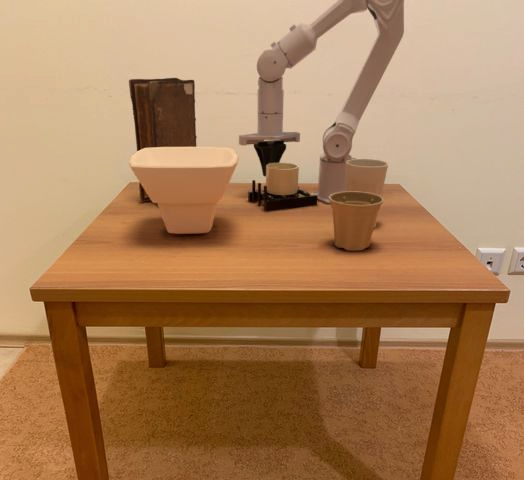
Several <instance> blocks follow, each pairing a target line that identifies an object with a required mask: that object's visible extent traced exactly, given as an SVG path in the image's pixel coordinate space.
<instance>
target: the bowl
mask: <svg viewBox="0 0 524 480" xmlns="http://www.w3.org/2000/svg"><path fill="white" fill-rule="evenodd" d="M238 163H239V155H238V153H237V152H236V151H235V150H234V149H233V148H231V147H224V146H196V147H152V148H143V149H141V150H139V151H137V150H136V152H135V153H133V154H132V155H131V156H130V158H129V161H128V165H129V167H130V169H131V171H132V172H133V174H134V176H135V178H137V181H138V183H141V185H142V187H143V188H144V190H145V191H146V193H147V194H148V196H149V198H150V199H149V200H150V201H151V202H152V203H153V204H157V207H158V209H159V213H160V215H161V218H162V221H163V224H164V227H165V229H166V231H167V233H169V234H173V235H174V234H176V235H187V234H189V235H192V234H194V235H196V234H197V235H198V234H208V233H210V231H211V230H212V228H213V224H214V220H215V214H216V210H217V205H218V203H219V202H220V201H221V200H222V199H223V197H224V195H225V193H226V190H227V188H228V186H229V184H230V181H231V179H232V177H233V175H234V172H235V170H236V167H237V166H238Z"/></svg>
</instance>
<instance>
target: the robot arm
mask: <svg viewBox="0 0 524 480" xmlns="http://www.w3.org/2000/svg"><path fill="white" fill-rule="evenodd" d="M367 10H368V12H369V13H370V15H371V17H373V21H374V25H375V30H376V32H377V35H376V38H375V40H374V42H373V44H372V46H371V48H370V50H369V53H368V54H367V57H366V58H365V61H364V63H363V65H362V67H361V68H360V71H359V73H358V75H357V77H356V79H355V81H354V83H353V84H352V87H351V89H350V91H349V93H348V95H347V97H346V100H345V101H344V103H343V105H342V107H341V109H340V111H339V113H338V114H337V116H336V117H335V120H334V122H333V123H332V124H331V125H330V126H329V127H328V128H326V129H325V131H324V133H323V135H322V149H323V153H322V154H320V156H319V164H318V178H317V179H318V180H317V181H318V182H317V192H312V193H309V194H310V195H318V198H317V200H319V201H321V202H323V203H326V204H331V201H330V200H329V196H330V195H331V194H333V193H337V192H344V191H346V161H348V160H352V159H357V158H356V157H352V155H350V153H351V151H352V148H353V138H354V136H355V134H356V132H357V129H358V127H359V124H360V121H361V119H362V117H363V115H364V113H365V111H366V109H367V107H368V105H369V104H370V101H371V99H372V97H373V95H374V94H375V93H376V90H377V88H378V86H379V83H380V82H381V80H382V78H383V76H384V75H385V72H386V70H387V68H388V67H389V64H390V62H391V60H392V59H393V57H394V54H396V50H397V49H398V47H399V45H400V43H401V41H402V39H403V37H404V33H405V0H336V2H335V3H333V4H332V5H331V6H330V7H329V8H327V9H326V11H324V12H323V13H322V14H320V15H319V16H318V17H317V18H316V19H314V21H312V22H311V23H310V24H308V23H303V22H300V23H299V24H297V25H296V24H293V25H291V26H290V27H289V32H288V33H287V34H286V35H284V36H282V37H281V38H280V39H279V40H278V41H276V42H275V41H273V42H271V44H270V47H271V49H265V50H263V52H262V53H261V54H260V55H259V57H258V59H257V62H256V72H257V74H258V79H257V85H258V89H257V125H256V126H257V127H256V129H257V132H255V133H247V134H239V135H238V145H240V146H244V147H245V146H247V145H248V146H249V145H253V148H254V150H255V153H256V154H257V157H258V159H259V163H260V167H261V171H262V176H263V177H265V178H266V165H267V164H270V163H281V159H282V157H283V155H284V153H285V152H286V150H287V144H286V143H294V142H295V143H300V142H301V133H300V132H298V131H284V99H285V97H284V96H285V90H284V75H285V72H286V69H290V70H291V69H293V68H294V67H296V65H298V64H299V63H300V62H302V61H303V60H304V59H305V58H306V57H308V56H309V55H311V54H312V53H313V52H314V51H316V49H317V44H318V40H319V38H321V37H322V36H323V35H325V34H326V33H328V32H329V31H330V30H331V29H333V28H334V27H335V26H337V25H338V24H339V23H341V22H342V21H343V20H345V19H346V18H347V17H349V16H350V15H352V14H360V13H364V12H366V11H367Z"/></svg>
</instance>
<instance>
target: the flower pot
mask: <svg viewBox="0 0 524 480" xmlns="http://www.w3.org/2000/svg"><path fill="white" fill-rule="evenodd" d="M329 200H330V201H331V203H330V207H331V209H332V219H333V237H334V238H333V239H334V245H335V246H336V247H337V248H338V249H341V248H342V249H344V250H345V251H350V252H353V251H356V252H357V251H363V250H365V249H366V248H369V247H370V244H371V240H372V235H373V231H374V229H375V227H374V224H375V220H376V216H377V212H378V213H379V211H380V210H381V206H382V204H383V203H384V201H385V199H384V197H383V196H382V197H381V196H379V195H377V194H373V193H369V192H360V191H344V192H337V193H333V194H331V195H330V196H329ZM377 217H378V216H377Z"/></svg>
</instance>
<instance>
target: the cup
mask: <svg viewBox="0 0 524 480" xmlns="http://www.w3.org/2000/svg"><path fill="white" fill-rule="evenodd" d="M388 167H389V162H387V161H384V160H381V159H374V158H356V159H352V160H348V161H346V191H360V192H369V193H373V194H377V195H379V196H381V197H383V191H384V186H385V181H386V177H387V171H388ZM378 215H379V211H378V212H377V216H376V220H375V224H374V228H376V227H377V224H378V223H377V221H378V217H379V216H378Z"/></svg>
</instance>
